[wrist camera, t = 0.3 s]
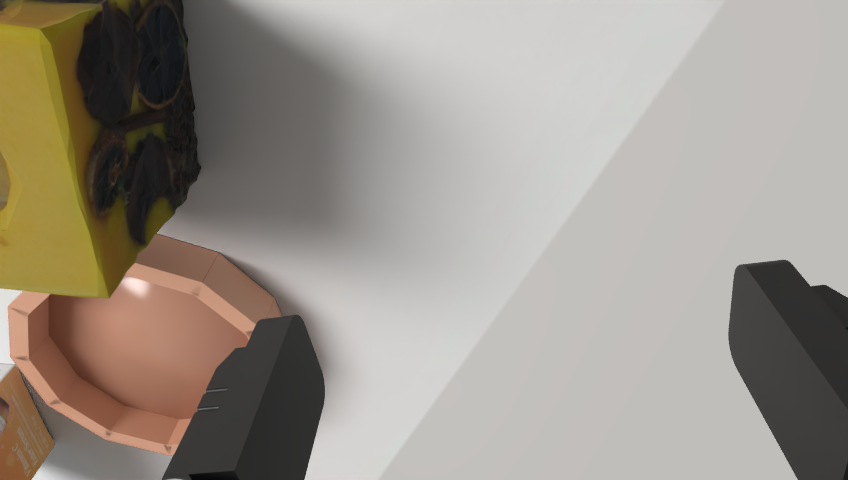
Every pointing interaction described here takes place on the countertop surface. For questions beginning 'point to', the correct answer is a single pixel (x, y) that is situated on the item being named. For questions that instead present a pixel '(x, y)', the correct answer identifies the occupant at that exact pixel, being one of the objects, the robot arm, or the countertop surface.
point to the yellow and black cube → (90, 138)
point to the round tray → (139, 343)
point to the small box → (20, 429)
